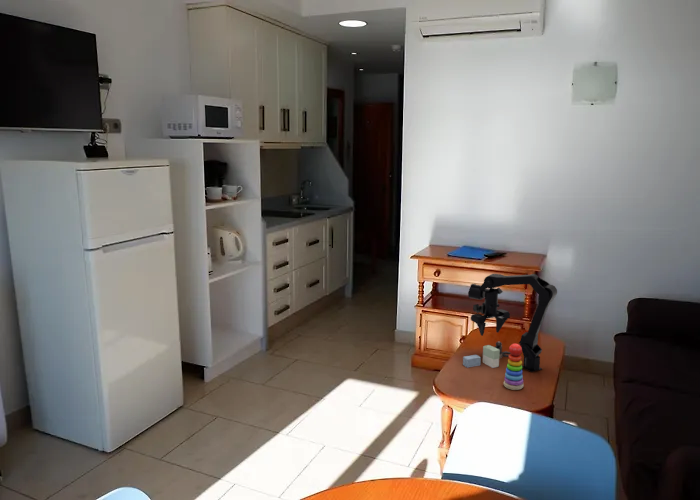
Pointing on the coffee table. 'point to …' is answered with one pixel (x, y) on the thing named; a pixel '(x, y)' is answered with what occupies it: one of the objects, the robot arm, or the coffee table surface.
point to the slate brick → (471, 361)
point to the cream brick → (490, 361)
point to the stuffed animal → (499, 346)
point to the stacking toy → (514, 369)
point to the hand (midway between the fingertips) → (489, 333)
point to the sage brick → (491, 352)
